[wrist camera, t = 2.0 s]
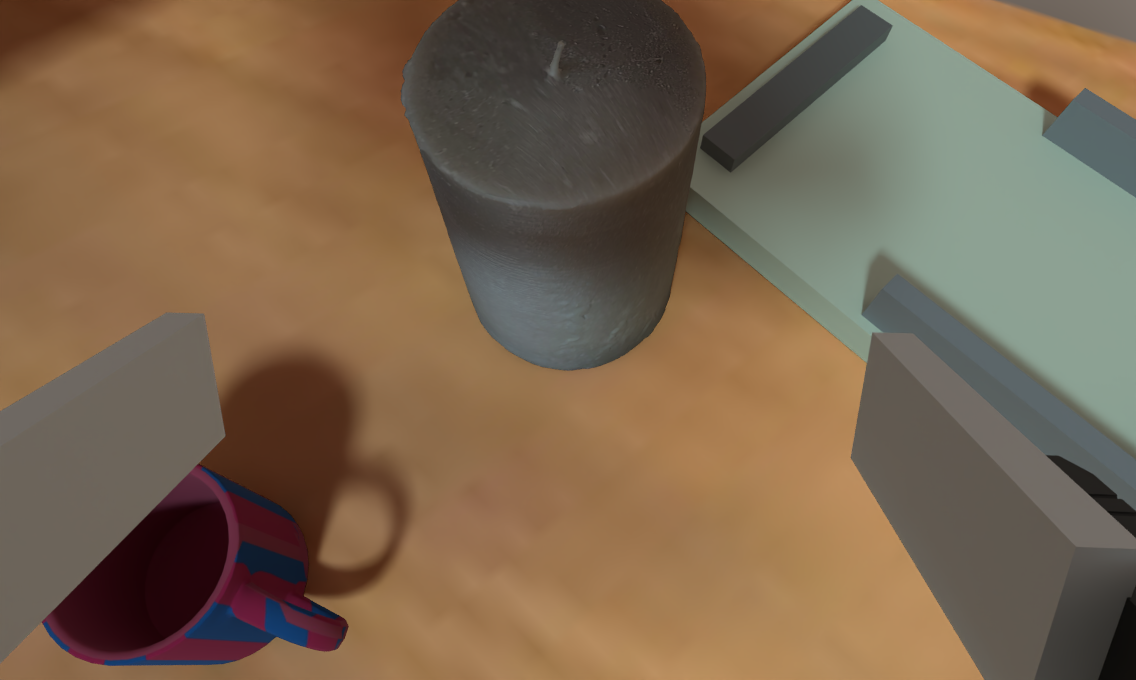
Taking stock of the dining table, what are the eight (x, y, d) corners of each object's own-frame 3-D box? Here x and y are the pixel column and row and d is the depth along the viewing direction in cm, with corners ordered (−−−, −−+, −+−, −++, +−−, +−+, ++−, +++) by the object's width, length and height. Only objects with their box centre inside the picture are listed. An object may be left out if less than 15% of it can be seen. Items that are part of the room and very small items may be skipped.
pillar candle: (646, 182, 38) (674, -90, 24) (690, 356, 34) (754, 148, 20) (457, 213, 38) (378, -47, 24) (481, 392, 34) (401, 205, 20)
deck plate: (653, 183, 38) (661, 125, 34) (851, 20, 42) (880, -50, 38) (1114, 570, 30) (1198, 555, 26) (1302, 322, 34) (1401, 275, 30)
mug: (217, 467, 32) (129, 421, 26) (406, 582, 30) (360, 562, 24) (111, 610, 30) (-12, 597, 24) (309, 744, 28) (230, 768, 22)
